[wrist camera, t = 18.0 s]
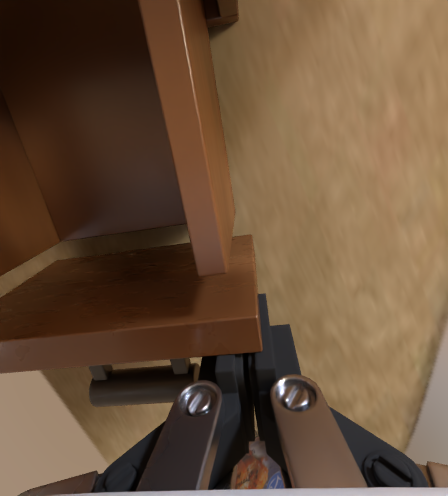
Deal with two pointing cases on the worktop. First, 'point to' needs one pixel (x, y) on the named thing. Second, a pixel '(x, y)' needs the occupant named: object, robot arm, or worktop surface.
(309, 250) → the worktop surface
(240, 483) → the tin
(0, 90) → the drawer
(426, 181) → the worktop surface
